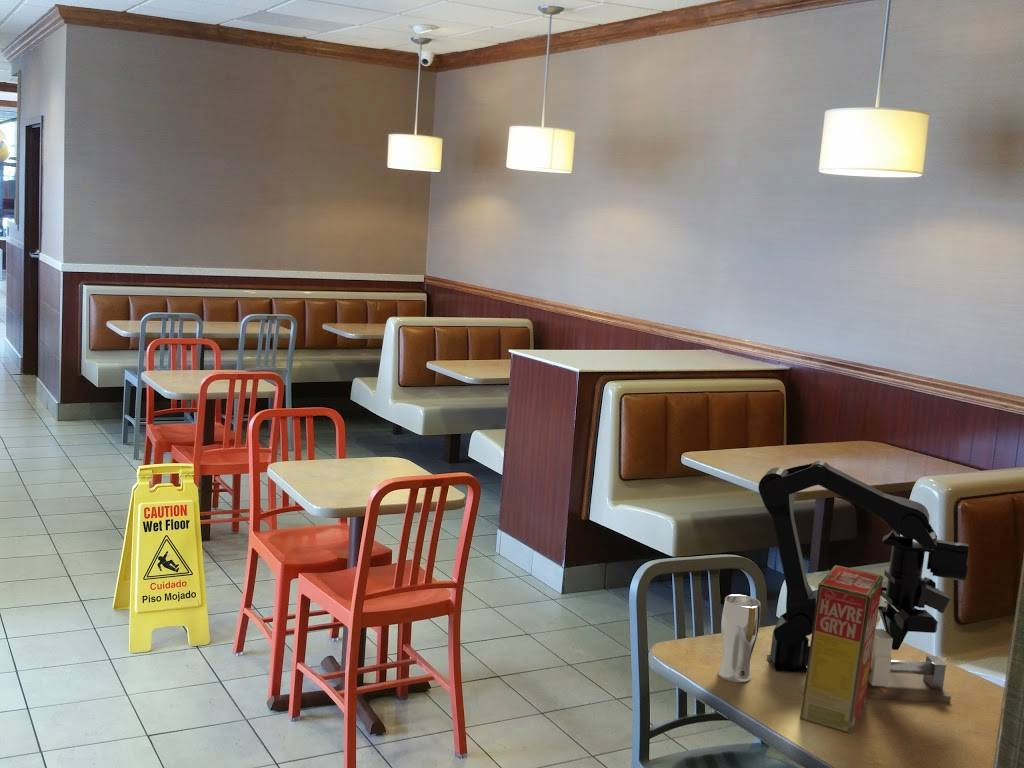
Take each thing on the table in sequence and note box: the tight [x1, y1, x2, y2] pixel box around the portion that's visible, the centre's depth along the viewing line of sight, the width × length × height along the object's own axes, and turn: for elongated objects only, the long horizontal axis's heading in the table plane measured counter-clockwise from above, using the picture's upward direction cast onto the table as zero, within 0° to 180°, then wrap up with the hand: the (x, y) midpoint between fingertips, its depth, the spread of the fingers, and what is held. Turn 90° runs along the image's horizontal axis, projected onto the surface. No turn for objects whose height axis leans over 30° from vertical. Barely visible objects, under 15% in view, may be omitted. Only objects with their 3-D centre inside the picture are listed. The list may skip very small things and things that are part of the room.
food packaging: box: [799, 564, 885, 734], centre depth 181 cm, size 13×9×25 cm
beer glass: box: [717, 594, 761, 684], centre depth 194 cm, size 7×7×15 cm
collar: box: [868, 628, 893, 686], centre depth 194 cm, size 3×6×9 cm, turn 2°
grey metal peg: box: [869, 655, 947, 690], centre depth 194 cm, size 17×4×5 cm, turn 92°
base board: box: [866, 673, 952, 703], centre depth 195 cm, size 18×9×1 cm, turn 92°
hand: (894, 649), depth 193 cm, fingers closed
